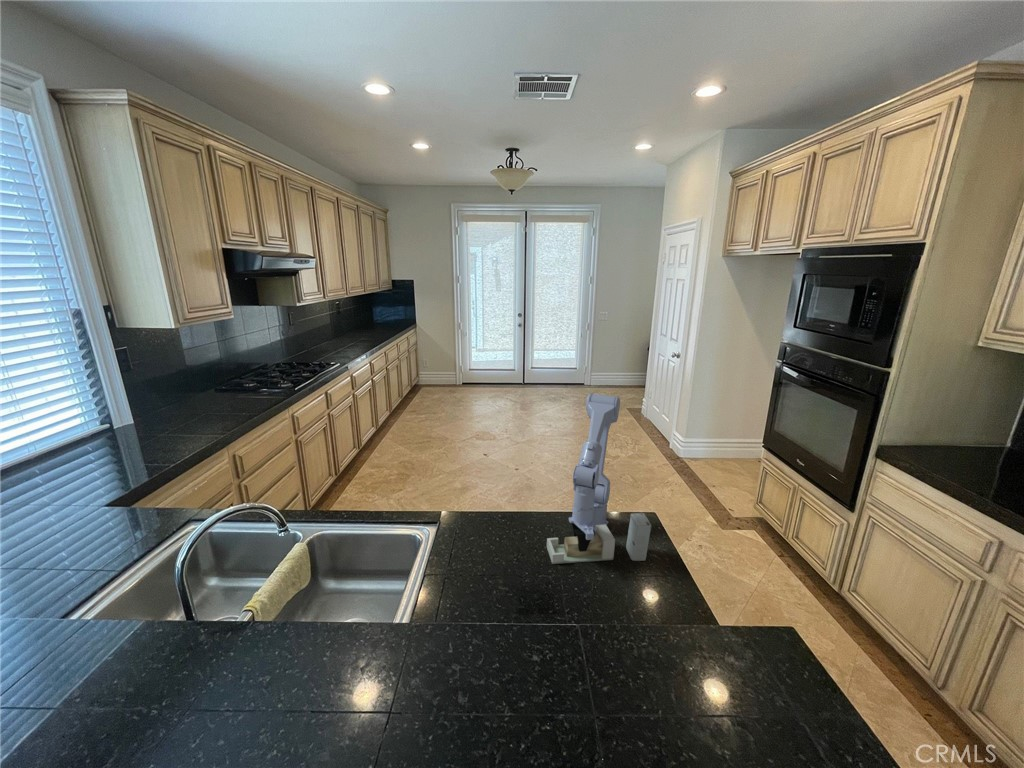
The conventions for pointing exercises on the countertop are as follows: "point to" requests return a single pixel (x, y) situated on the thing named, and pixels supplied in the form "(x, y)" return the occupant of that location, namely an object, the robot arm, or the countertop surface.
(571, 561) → the endcap rail
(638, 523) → the skincare box
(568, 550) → the tan rectangular block
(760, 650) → the countertop surface
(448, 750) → the countertop surface
